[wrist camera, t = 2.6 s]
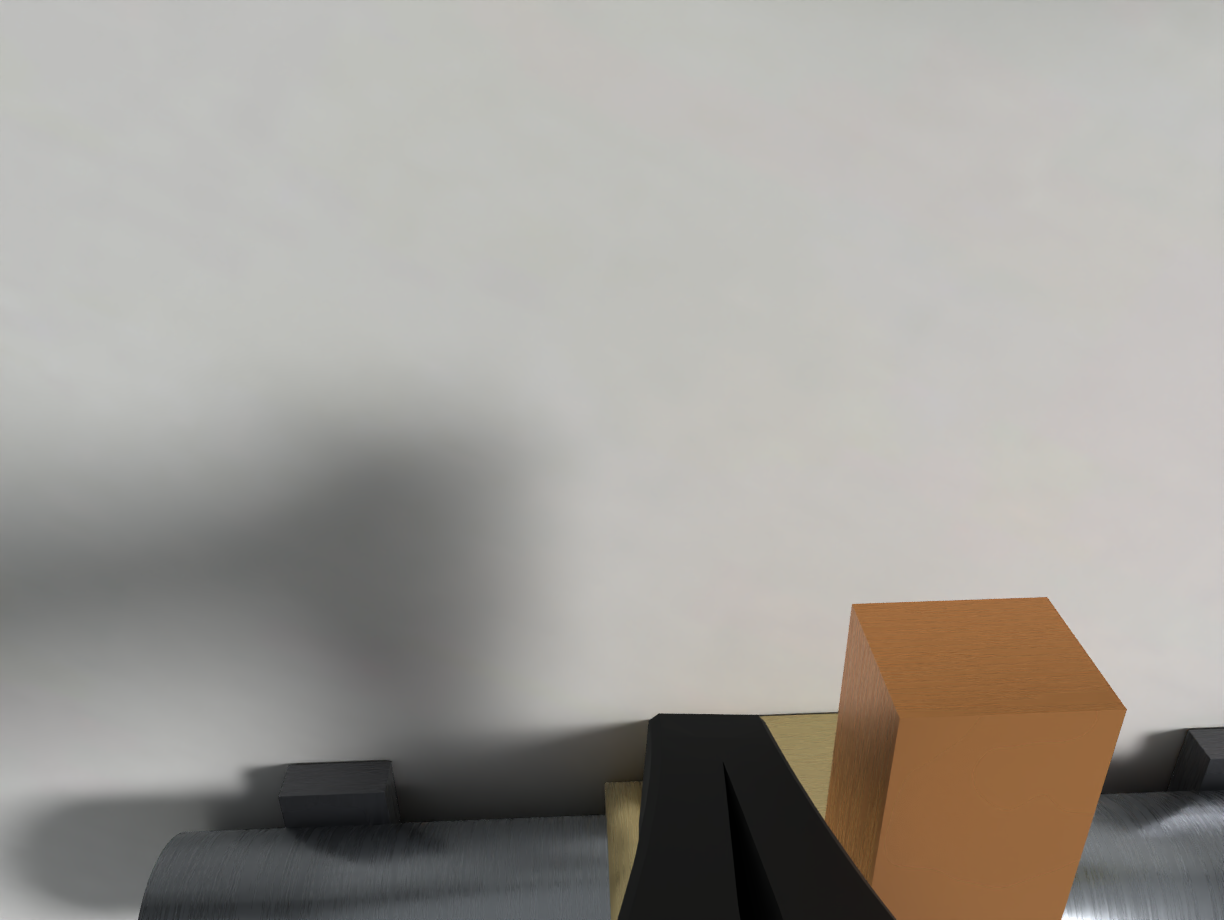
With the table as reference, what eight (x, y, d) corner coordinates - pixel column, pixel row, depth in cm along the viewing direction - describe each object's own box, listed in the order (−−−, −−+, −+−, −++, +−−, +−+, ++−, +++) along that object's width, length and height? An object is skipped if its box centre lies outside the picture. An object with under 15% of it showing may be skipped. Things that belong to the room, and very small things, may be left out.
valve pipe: (1288, 878, 23) (1476, 1127, 18) (242, 924, 22) (155, 1195, 18) (1382, 678, 20) (1631, 911, 15) (183, 723, 19) (60, 983, 15)
